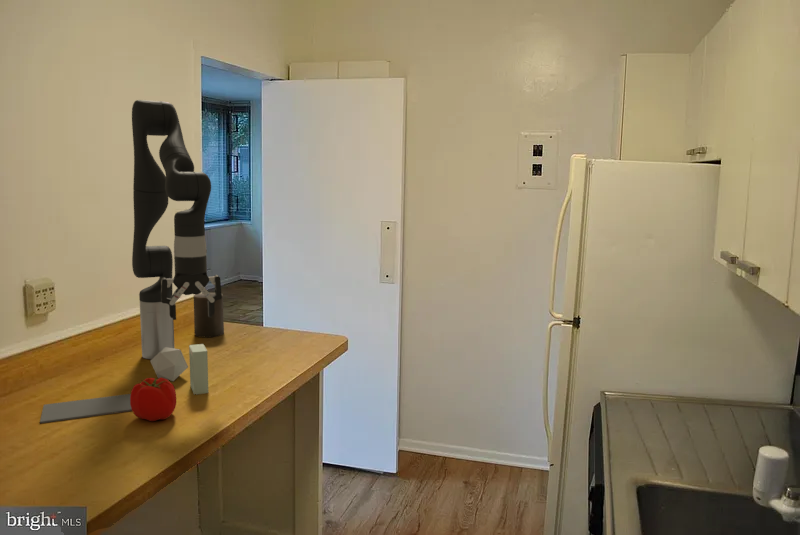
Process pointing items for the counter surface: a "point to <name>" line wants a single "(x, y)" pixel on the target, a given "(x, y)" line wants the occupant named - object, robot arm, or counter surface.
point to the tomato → (153, 399)
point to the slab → (198, 368)
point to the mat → (85, 408)
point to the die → (169, 363)
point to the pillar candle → (203, 322)
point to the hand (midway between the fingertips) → (192, 317)
